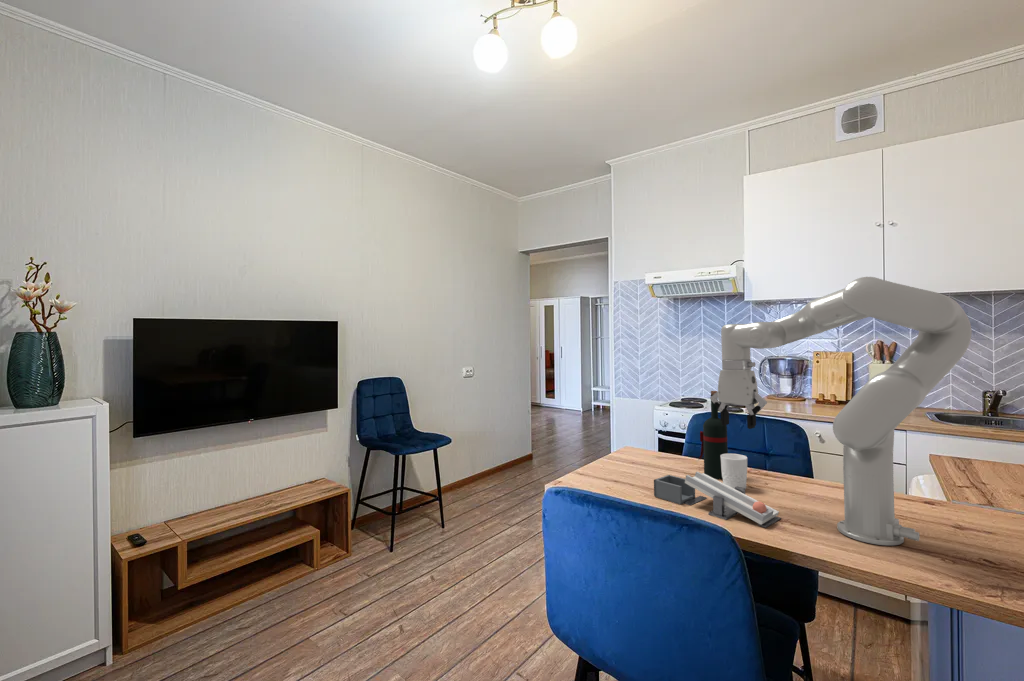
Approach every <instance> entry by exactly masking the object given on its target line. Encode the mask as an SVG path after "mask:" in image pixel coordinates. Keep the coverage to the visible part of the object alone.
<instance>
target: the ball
mask: <svg viewBox="0 0 1024 681" xmlns="http://www.w3.org/2000/svg"><path fill="white" fill-rule="evenodd" d="M765 505H766V504H765V503H763V502H762V501H759V500H757V502H755V503H754V504H753V510H755V511H757V512H759V513H761V514H762V513H764V512H766V506H765Z"/></svg>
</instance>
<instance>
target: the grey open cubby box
mask: <svg viewBox="0 0 1024 681" xmlns="http://www.w3.org/2000/svg"><path fill="white" fill-rule="evenodd" d="M685 479H686V478H684V477H683V478H682V477H679V476H676V475H671V474H667V475H664V476H661V477H657V478H656V479H653V497H654V496H656V497H655V498H657V497H658V498H657V499H660V498H662V499H661V500H664V501H667V500H668V502H670V501H671V502H670V503H673V502H674V503H673V504H678V505H681V506H682V505H684V502H687V501H689V500H691V499H694V498H696V489H695V488H693V487H691V486H689V485H687V484H686V483H685Z"/></svg>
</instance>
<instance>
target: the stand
mask: <svg viewBox="0 0 1024 681" xmlns="http://www.w3.org/2000/svg"><path fill="white" fill-rule="evenodd" d="M735 489H736V490H738V491H740V492H741V493H743V494H745V495H746V489H745V488H742V487H738V486H736V487H735ZM707 497H708V496H704V495H698V496H697V497H696V496H695V498H694V499H691V500H689V501H687V502H684V503H683V505H687V506H692V505H694V504H697V503H699V502H702V501H704V500H706V499H707ZM712 504H713V505H712V507H713V508H712V510H711V511H708V512H707V513H708V514H707V515H709V516H712V517H715V518H719V519H721V520H724V521H727V520H729V519H731V518H733V517H735V516H736V515H739V514H740V513H739V512H737V511H735V510H733V509H731V508H730V507H728V506H726V505H724V498H722V497H718V496H713V498H712ZM781 519H782V517H781V516H780V517H779V516H775V517H774V518H772V519H770V520H768V521H767V522H765V523H763V524H762V525H761V524H759V523H757V526H759V527H760V528H765V529H766V528H768V527H770V526H772V525H773V524H775V523H777V522H778V521H779V520H781Z"/></svg>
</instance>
